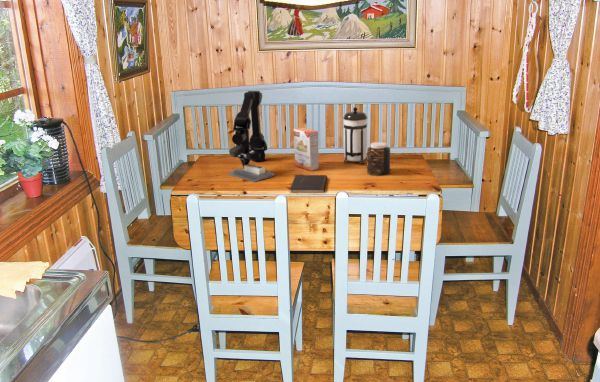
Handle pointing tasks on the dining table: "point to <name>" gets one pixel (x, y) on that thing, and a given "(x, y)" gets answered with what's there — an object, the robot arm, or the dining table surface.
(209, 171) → the dining table surface
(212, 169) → the dining table surface
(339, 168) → the dining table surface
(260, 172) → the white rectangular block
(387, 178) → the dining table surface
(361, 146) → the coffee press
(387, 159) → the jar
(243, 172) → the mount plate
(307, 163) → the cracker box
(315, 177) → the hardcover book
